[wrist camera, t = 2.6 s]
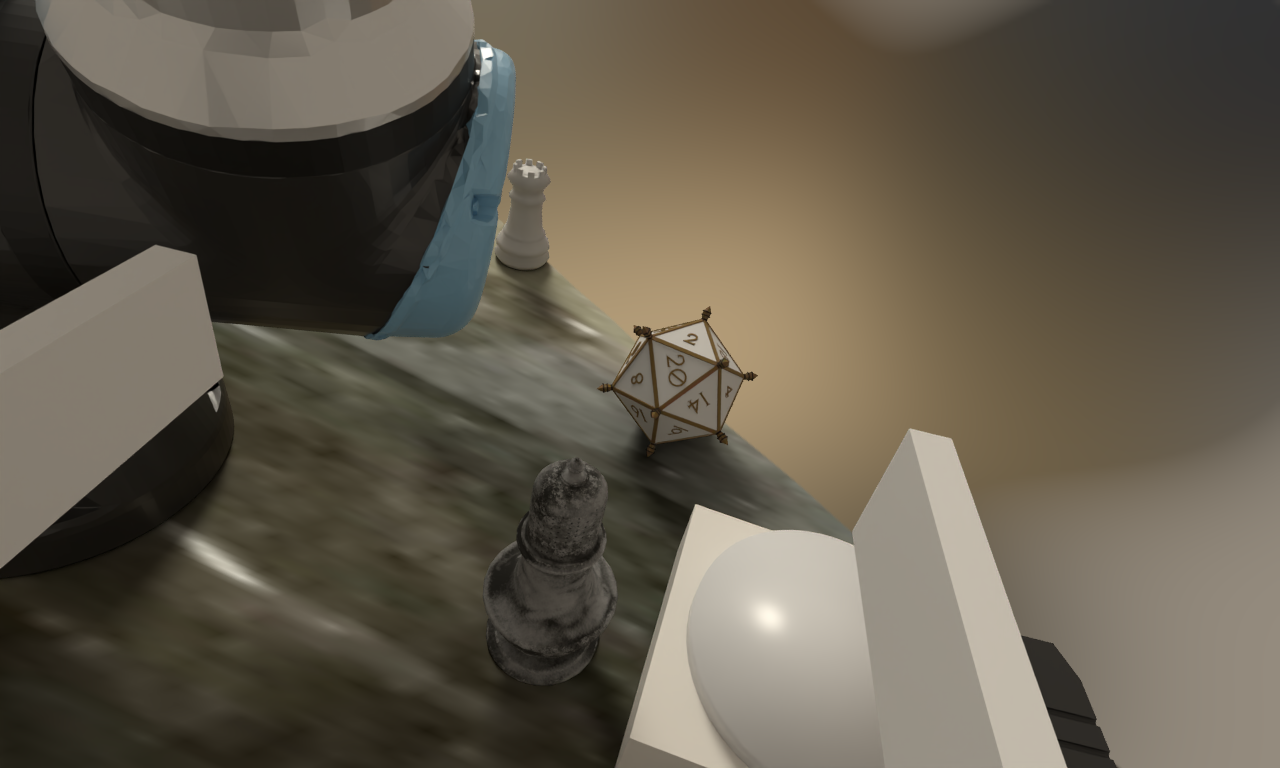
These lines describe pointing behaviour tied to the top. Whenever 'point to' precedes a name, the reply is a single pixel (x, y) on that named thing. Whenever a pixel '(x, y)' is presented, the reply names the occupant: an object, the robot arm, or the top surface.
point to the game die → (678, 382)
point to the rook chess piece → (525, 219)
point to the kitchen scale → (756, 656)
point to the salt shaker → (553, 579)
